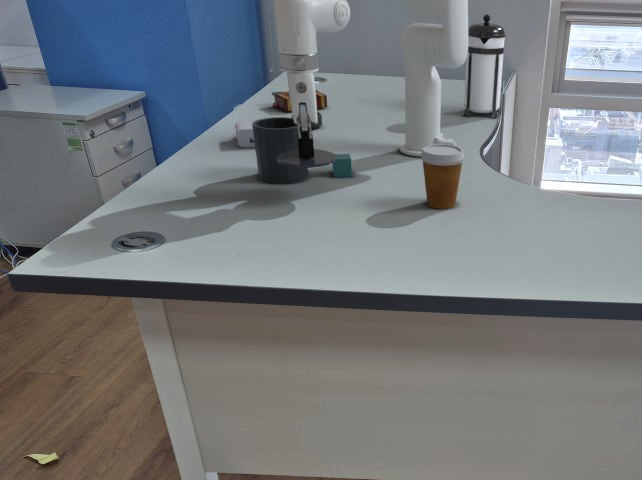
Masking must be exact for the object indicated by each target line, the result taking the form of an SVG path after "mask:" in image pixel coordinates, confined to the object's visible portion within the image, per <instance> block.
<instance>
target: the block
mask: <svg viewBox="0 0 642 480" xmlns="http://www.w3.org/2000/svg"><path fill="white" fill-rule="evenodd" d="M334 154H335V155H336V161H335V162H334V163H332V165H331V166H332V176H333V178H352V177H353V168H352V167H353V166H352V165H353V164H352V157H351V154H350V153H334Z"/></svg>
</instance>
